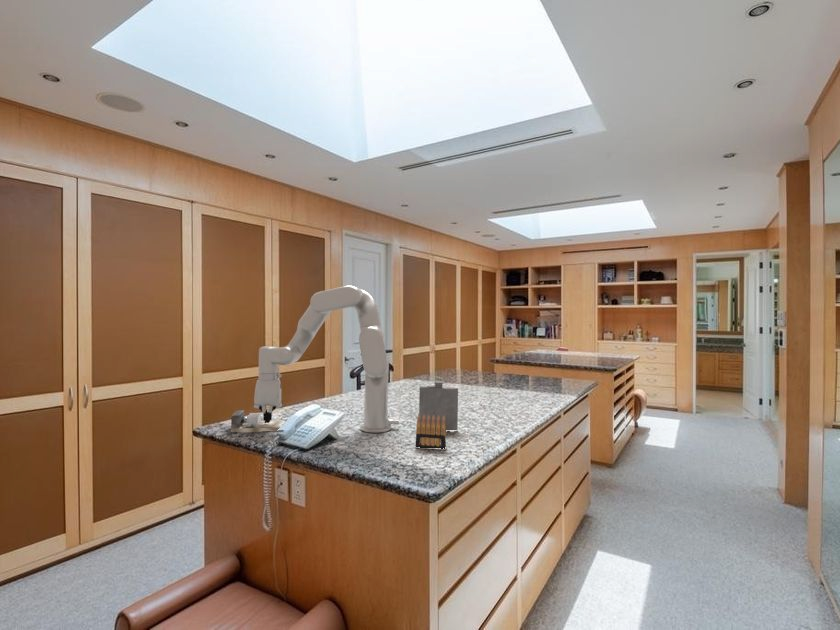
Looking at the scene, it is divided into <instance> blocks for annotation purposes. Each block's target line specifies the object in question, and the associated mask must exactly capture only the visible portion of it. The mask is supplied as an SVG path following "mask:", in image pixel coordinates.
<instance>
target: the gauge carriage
mask: <svg viewBox="0 0 840 630" xmlns="http://www.w3.org/2000/svg"><path fill="white" fill-rule="evenodd" d="M261 414H262V413H261V412H249V414H248V415H247V416H244V417H242V418H241V423H247V427H250V428H252V427H258V425H259V424H260V422H261V419H262V418H261Z"/></svg>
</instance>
